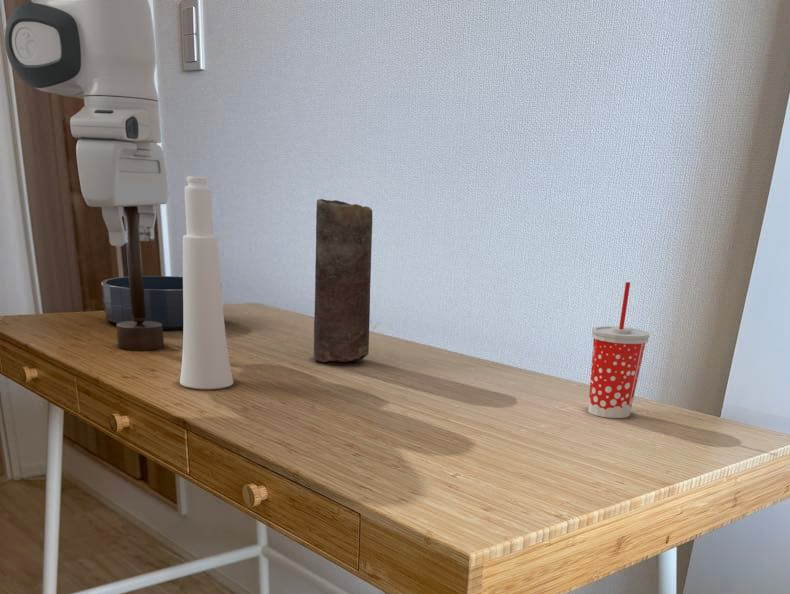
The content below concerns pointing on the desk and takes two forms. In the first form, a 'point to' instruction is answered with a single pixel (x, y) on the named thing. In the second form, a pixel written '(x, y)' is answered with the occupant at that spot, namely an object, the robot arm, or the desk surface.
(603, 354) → the beverage cup
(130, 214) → the ladle
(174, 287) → the bowl
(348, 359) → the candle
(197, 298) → the cosmetic bottle
